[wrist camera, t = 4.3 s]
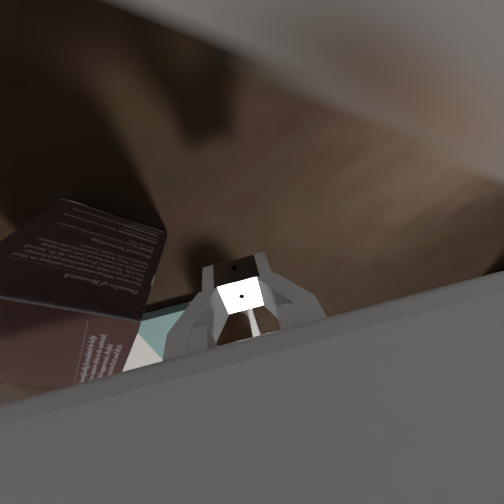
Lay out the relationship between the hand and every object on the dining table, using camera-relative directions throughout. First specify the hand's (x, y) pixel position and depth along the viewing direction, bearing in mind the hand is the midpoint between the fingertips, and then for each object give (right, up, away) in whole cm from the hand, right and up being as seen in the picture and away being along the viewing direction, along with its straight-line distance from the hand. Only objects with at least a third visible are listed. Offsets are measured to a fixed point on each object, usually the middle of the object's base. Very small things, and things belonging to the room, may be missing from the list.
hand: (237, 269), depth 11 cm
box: (-9, +1, +4) cm, 10 cm away
